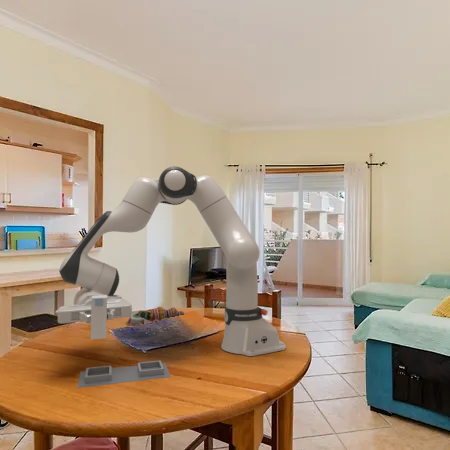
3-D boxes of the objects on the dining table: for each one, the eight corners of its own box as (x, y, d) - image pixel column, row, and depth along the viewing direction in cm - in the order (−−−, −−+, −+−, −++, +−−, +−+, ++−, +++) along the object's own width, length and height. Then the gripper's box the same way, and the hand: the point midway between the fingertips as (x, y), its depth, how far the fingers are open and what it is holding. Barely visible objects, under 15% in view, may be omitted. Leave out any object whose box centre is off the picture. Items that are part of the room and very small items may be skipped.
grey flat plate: (165, 364, 111) (165, 357, 111) (171, 378, 100) (171, 370, 100) (80, 373, 103) (80, 365, 103) (77, 390, 93) (77, 381, 93)
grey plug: (106, 334, 102) (107, 295, 103) (106, 339, 98) (107, 298, 98) (91, 335, 101) (92, 295, 101) (90, 340, 97) (91, 298, 97)
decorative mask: (124, 303, 167) (188, 300, 176) (124, 319, 167) (188, 316, 176) (126, 314, 145) (199, 311, 154) (126, 333, 145) (199, 328, 154)
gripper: (55, 300, 107) (57, 309, 94) (125, 295, 116) (136, 303, 104) (54, 321, 107) (57, 334, 94) (125, 314, 116) (136, 325, 104)
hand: (99, 317), depth 99 cm, fingers closed on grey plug, 4 cm apart
